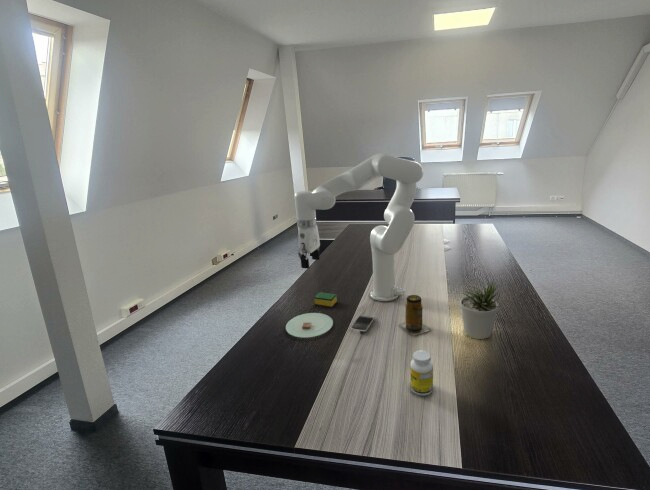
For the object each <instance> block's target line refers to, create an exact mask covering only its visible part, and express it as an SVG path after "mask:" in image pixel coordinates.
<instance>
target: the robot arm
mask: <svg viewBox="0 0 650 490" xmlns="http://www.w3.org/2000/svg"><path fill="white" fill-rule="evenodd" d="M423 176H424V167H423V166H422V165H421V163H420V162H417V161H414V160H410V159H405V158H403V157H402V158H401V157H398V156H394V155H391V154H386V153H375V154H374V155H371V156H370V157H369V158H367V159H365V160H363V161H362V162H361V163H359V164H357V165H355V166H354V167H352V168H350V169H348V170H347V171H343V172H342V173H340V174H338V175H336V176H334V177H332V178H330V179H328V180H327V181H325V182H323V183H322V184H320V185H319V186H316V188H315V189H314V190H313V191H311V190H301V191H297V192H295V194H294V197H293V198H294V207H295V214H296V215H295V216H296V225H297V230H298V234H297V235H298V236H297V237H298V240H297V241H298V250H297V254H298V258H299V259H300V266H301V267H300V268H301V269H306V270H307V269H310V260H309V259H310V258H309V254H311V259H312V260H314V261H315V260H316V261H319V260H321V259H320V246H321V241H320V234H319V228H318V224H317V213H316V212H317V211H316V210H322V211H324V210H325V211H326V210H330V209H332V208H333V207H334V206H335V204H336V201H337V200H336V198H337V197H338V196H340V195H342V194H345V193H347V192H355V191H358V190H361V189H363V188H365V187H366V186H367V185H369V184H371V183H372V182H374V181H376V180H377V179H379V178H380V177H383V178H386V179H390V180H394V181H396V187H395V191H394V193H393V195H392V197H391V199H390V201H389V202H388V205H387V207H386V209H384V213H383V219H384V221H385V222H386V223H387V224H388V226H386V225H383V224H382V225H381V224H380V225H377V226H375V227H374V228H373V229H372V230H371V232H370V234H369V235H370V236H369V242H370V248H371V249H370V250H371V256H372V257H371V258H372V283H373V286H372V287H373V289H372V290H371V291H370V292H369V294H370V295H369V296H370V298H372V299H373V300H374V301H378V302H391V301H394V300H395V299H397V298H399V295H400V296H405V290H404V288H399V287H398V284H396V270H395V269H396V268H395V267H396V264H395V263H396V261H395V259H396V258H395V255H396V254H397V253H398V252H399V251H400V250H401V249H402V247H403V246H404V244H405V242H406V241H407V239H408V237H409V234H411V231H412V230H413V227H414V225H415V218H416V217H415V214H414V212H413V210H412V209H411V207H412V204H413V203H414V200H415V198H416V195H417V191H418V189H417V183H418V182H420V181H421V180H422V178H423Z"/></svg>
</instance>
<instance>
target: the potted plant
mask: <svg viewBox="0 0 650 490" xmlns="http://www.w3.org/2000/svg"><path fill="white" fill-rule="evenodd" d="M479 283H480V284H481V286H482V289H483V291H482V290H480V289H479V288H477V287H476V286H471V288H472V290H470V289H469V291H465V293H462V294H463V295H465V296H464V297H462V298H461V299H460V300H459V307H460V310H461V318H462V324H463V331H464V333H465V335H467V336H468V337H469V338H472V339H475V340H486V339H487V338H490V336H491V335H492V331H493V328H494V324H495V321H496V316H497V313H498V311H499V308H500V307H501V305H499V303H498V302H497V300H498V299H499V298H500V296H498V297H497V298H496V299H495V300H494V298H495V297H496V296H497V295H499V292H496V293H495V291H496V289H497V288H498V285H496V283H494V281H492V282H489V281H488V282H487V287H485V286H484V285H483V283H482V282H481V281H479Z"/></svg>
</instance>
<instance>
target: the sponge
mask: <svg viewBox="0 0 650 490" xmlns="http://www.w3.org/2000/svg"><path fill="white" fill-rule="evenodd" d="M313 298H314V299H313V300H314V305H319V306H324V307H334V305H335V304H336V303H337V302H338V299H337V294H336V293H329V292H328V293H327V292H324V291H323V292H322V291H319V292H318V293H317V294H316V295H315V296H314V297H313Z"/></svg>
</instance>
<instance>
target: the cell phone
mask: <svg viewBox="0 0 650 490" xmlns="http://www.w3.org/2000/svg"><path fill="white" fill-rule="evenodd" d="M374 321H375V316H369V315H368V316H367V315H359V316H358V317H357V318H356V320H355V321H354V323H352V325H351V326H350V330H352V331H359V333H360V334H366V333H367V331H368V330H369V328H370V327H371V325H372V324H373V323H374Z"/></svg>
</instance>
